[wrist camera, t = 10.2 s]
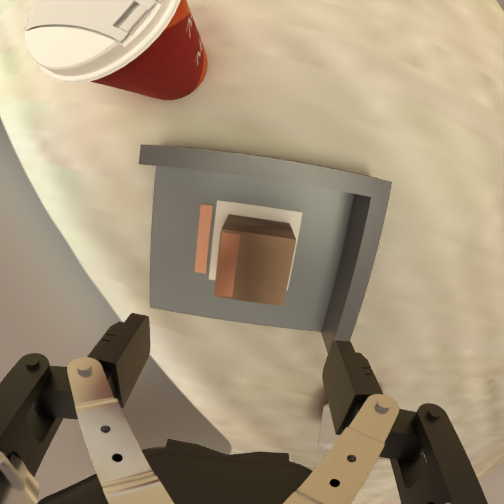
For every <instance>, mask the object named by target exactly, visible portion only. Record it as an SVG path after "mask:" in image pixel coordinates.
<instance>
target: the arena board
mask: <svg viewBox="0 0 504 504" xmlns="http://www.w3.org/2000/svg"><path fill="white" fill-rule="evenodd" d="M139 164H144V165H156V174H155V186H154V198H153V213H152V231H151V256H150V308H156V309H161V310H167V311H172V312H178V313H184V314H189V315H196V316H202V317H208V318H214V319H221V320H228V321H235V322H242V323H249V324H257V325H265V326H273V327H281V328H290V329H299V330H309V331H319V332H321V333H322V336H323V339H324V342H325V346H326V349H327V352H328V353H329V350H330V347H331V344H332V342H333V341H334V340H335V341H350V338H351V335H352V333H353V330H354V327H355V324H356V321H357V317H358V314H359V311H360V308H361V305H362V302H363V298H364V295H365V292H366V288H367V285H368V281H369V278H370V274H371V271H372V267H373V263H374V259H375V256H376V252H377V248H378V244H379V240H380V236H381V231H382V227H383V223H384V218H385V214H386V209H387V204H388V200H389V195H390V189H391V184H392V182H389V181H386V180H382V179H378V178H374V177H370V176H366V175H361V174H357V173H352V172H347V171H343V170H338V169H333V168H328V167H323V166H317V165H312V164H306V163H301V162H295V161H289V160H283V159H277V158H270V157H263V156H256V155H249V154H242V153H234V152H225V151H217V150H207V149H197V148H187V147H175V146H161V145H141V149H140V158H139ZM229 214H231V215H238V216H245V217H252V218H259V219H266V220H273V221H279V222H286V223H290V225H291V228H292V230H293V233H294V235H295V238H296V244H295V250H294V255H293V260H292V265H291V270H290V275H289V280H288V285H287V290H286V295H285V299H284V304H283V306H277V305H269V304H262V303H254V302H247V301H240V300H233V299H226V298H220V297H214V288H215V278H216V269H217V260H218V251H219V242H220V233H221V229H222V227H223V225H224V223H225V221H226V219H227V217H228V215H229Z"/></svg>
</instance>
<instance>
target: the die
mask: <svg viewBox="0 0 504 504" xmlns="http://www.w3.org/2000/svg"><path fill="white" fill-rule="evenodd" d="M339 437H340V435H336V434H335V429H334V425H333V421H332V417H331V412H330V408H329V404H328V403H327V404H326V405H324V408H323V415H322V421H321V427H320V433H319V439H318V444H319V445H321V446H323V447H325V448H327V449H329V450H330V449H331V448H332V446H333V445H334V444H335V442H336V441H337V440H338V438H339Z"/></svg>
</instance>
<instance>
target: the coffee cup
mask: <svg viewBox="0 0 504 504" xmlns="http://www.w3.org/2000/svg"><path fill="white" fill-rule="evenodd" d="M24 36H25V44H26V47H27V50H28V52H29V54H30V56H31V57H32V59H33V60H34V61H35V62H36V63H37V65H38V67H39V68H40V70H41V71H42V72H43V73H44V74H45V75H46V76H47V77H49V78H51V79H53V80H55V81H58V82H62V83H69V84H78V83H86V82H95V83H99V84H103V85H107V86H111V87H115V88H119V89H123V90H127V91H131V92H135V93H138V94H142V95H146V96H149V97H153V98H158V99H163V100H173V99H178V98H182V97H184V96H186V95H188V94H190V93H191V92H193V91H194V90H195V89H196V88H197V87H198V86H199V85H200V83H201V82H202V80H203V79H204V76H205V74H206V70H207V58H206V53H205V50H204V47H203V44H202V41H201V39H200V36H199V33H198V30H197V28H196V25H195V22H194V20H193V17H192V14H191V12H190V9H189V7H188V4H187V2H186V0H34V2H33V4H32V6H31V9H30V12H29V15H28V19H27V23H26V27H25V35H24Z"/></svg>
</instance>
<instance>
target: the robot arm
mask: <svg viewBox="0 0 504 504" xmlns="http://www.w3.org/2000/svg"><path fill="white" fill-rule="evenodd" d="M149 353H150V325H149V317H148V316H145V315H140V314H135V313H131V314H130V316H129V317H128V318H127V320H126V321H125V322H118V323H116V324H114V325H112V326H111V327H110V328H109V329H108V330H107V332H106V333H105V334H104V336H103V337H102V338H101V340H100V341H99V342H98V343H97V345H96V346H95V347H94V349H93V350H92V352H91V353H90V354H89V355H88V357H82V358H77V359H75V360H73V361H72V362H71V363H70V364H69V365H68V367H58V366H50V365H49V361H48V359H47V358H46V357H45V356H44V355H41V354H37V353H32V354H28V355H25V356H23V357H22V358H21V359H20V360H19V361H18V362H17V363H16V364H15V366H14V367H13V368H12V369H11V371H10V372H9V373H8V374H7V375H6V377H5V378H4V379H3V380H2V381H1V383H0V504H351V503H352V501H353V500H354V498H355V497H356V495H357V494H358V492H359V490H360V489H361V487H362V485H363V484H364V482H365V480H366V479H367V477H368V475H369V473H370V472H371V470H372V468H373V466H374V464H375V463H376V461H377V459H378V457H384V458H390V461H391V465H392V468H393V472H394V476H395V480H396V484H397V488H398V492H399V496H400V500H401V504H487V501H486V498H485V496H484V493H483V491H482V488H481V486H480V484H479V481H478V479H477V477H476V474H475V472H474V470H473V468H472V465H471V463H470V461H469V459H468V457H467V454H466V452H465V450H464V448H463V446H462V444H461V442H460V440H459V438H458V436H457V434H456V432H455V430H454V428H453V426H452V424H451V422H450V420H449V418H448V416H447V414H446V412H445V411H444V410H443V409H442V408H441V407H439V406H437V405H435V404H430V403H427V404H423V405H421V406H420V407H419V409H418V410H417V412H413V411H407V410H402V409H399V406H398V404H397V402H396V401H395V400H394V399H392V398H391V397H389V396H387V395H383V393H382V390H381V388H380V386H379V384H378V382H377V380H376V377H375V375H374V373H373V371H372V369H371V367H370V364H369V362H368V360H367V359H366V358H365V357H364V356H363V355H362V354H361V353H355V351H354V348H353V346H352V344H351V342H350V341H335V340H334V341H333V342H332V344H331V347H330V350H329V353H328V356H327V359H326V362H325V365H324V369H323V384H324V388H325V392H326V396H327V400H328V404H329V408H330V412H331V417H332V421H333V425H334V429H335V434H336V435H340V437H339V438H338V440H337V441H336V442H335V444H334V445H333V446H332V448H331V449H330V450H329V452H328V453H327V454H326V455H325V457H324V458H323V459H322V461H321V462H320V463H319V464H318V466H317V467H316V468H315V469H314V470H313V471H312V470H310V469H308V468H306V467H304V466H302V465H300V464H297V463H294V462H290V461H289V454H288V453H271V452H253V453H243V454H233V455H227V454H223V453H220V452H217V451H214V450H211V449H209V448H206V447H203V446H200V445H198V444H192V443H187V442H181V441H176V440H171V439H168V441H167V444H166V447H153V448H148V449H144V450H141V449H140V447H139V445H138V443H137V441H136V439H135V437H134V435H133V433H132V431H131V429H130V427H129V425H128V422H127V420H126V418H125V416H124V414H123V411H122V409H121V407H122V408H124V406H125V404H126V402H127V400H128V398H129V396H130V394H131V392H132V389H133V387H134V385H135V383H136V381H137V379H138V377H139V375H140V373H141V371H142V369H143V367H144V365H145V363H146V361H147V359H148V357H149ZM63 418H67V419H78V420H79V423H80V427H81V430H82V433H83V436H84V440H85V443H86V446H87V449H88V451H89V455H90V457H91V460H92V463H93V465H94V468H95V471H96V474H94V475H92V476H90V477H88V478H86V479H84V480H82V481H80V482H78V483H76V484H74V485H72V486H69V487H67V488H65V489H63V490H61V491H58V492H56V493H54V494H51V495H49V496H47V497H45V498H43V499H42V500H40V501H39V502H38V494H39V485H38V482H37V481H36V479H35V478H34V476H35V474H36V472H37V470H38V468H39V466H40V463H41V461H42V459H43V457H44V455H45V453H46V451H47V449H48V447H49V445H50V443H51V441H52V439H53V437H54V435H55V433H56V431H57V429H58V428H59V425H60V424H61V422H62V420H63ZM424 455H425V457H424ZM425 458H426V459H425ZM426 461H427V462H426Z"/></svg>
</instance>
